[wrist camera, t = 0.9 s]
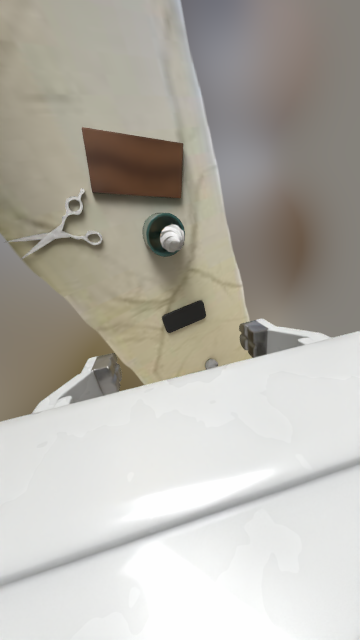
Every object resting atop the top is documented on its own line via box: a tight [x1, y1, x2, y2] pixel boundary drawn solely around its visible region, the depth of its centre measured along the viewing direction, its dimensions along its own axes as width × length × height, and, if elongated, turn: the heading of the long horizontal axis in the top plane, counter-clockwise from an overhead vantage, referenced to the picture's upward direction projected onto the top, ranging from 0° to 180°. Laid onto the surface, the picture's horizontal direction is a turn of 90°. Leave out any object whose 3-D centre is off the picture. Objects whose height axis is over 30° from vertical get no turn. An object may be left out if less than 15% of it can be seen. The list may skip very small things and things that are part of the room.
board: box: [82, 127, 183, 198], centre depth 40 cm, size 10×20×1 cm, turn 88°
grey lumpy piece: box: [205, 359, 218, 370], centre depth 78 cm, size 5×7×8 cm
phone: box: [162, 301, 206, 333], centre depth 64 cm, size 7×1×15 cm
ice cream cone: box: [160, 224, 185, 252], centre depth 43 cm, size 6×6×15 cm
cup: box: [143, 213, 185, 257], centre depth 47 cm, size 10×10×6 cm
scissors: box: [7, 189, 102, 259], centre depth 41 cm, size 11×1×20 cm
